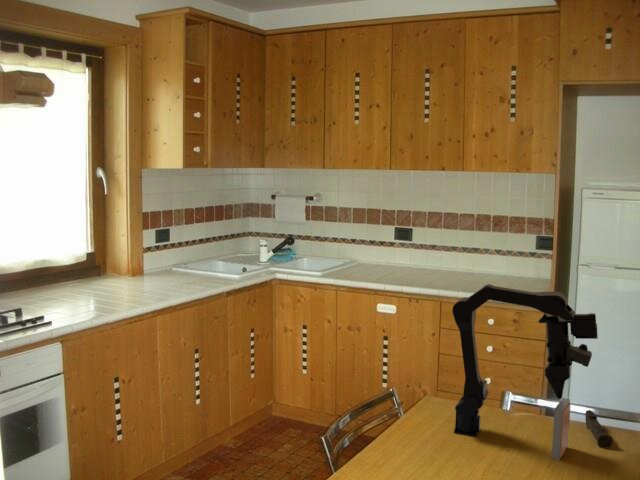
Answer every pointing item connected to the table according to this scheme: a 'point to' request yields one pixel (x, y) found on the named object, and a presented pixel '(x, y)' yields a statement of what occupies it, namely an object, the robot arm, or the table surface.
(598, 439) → the dark brown rough rod
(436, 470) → the table surface
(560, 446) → the tile
